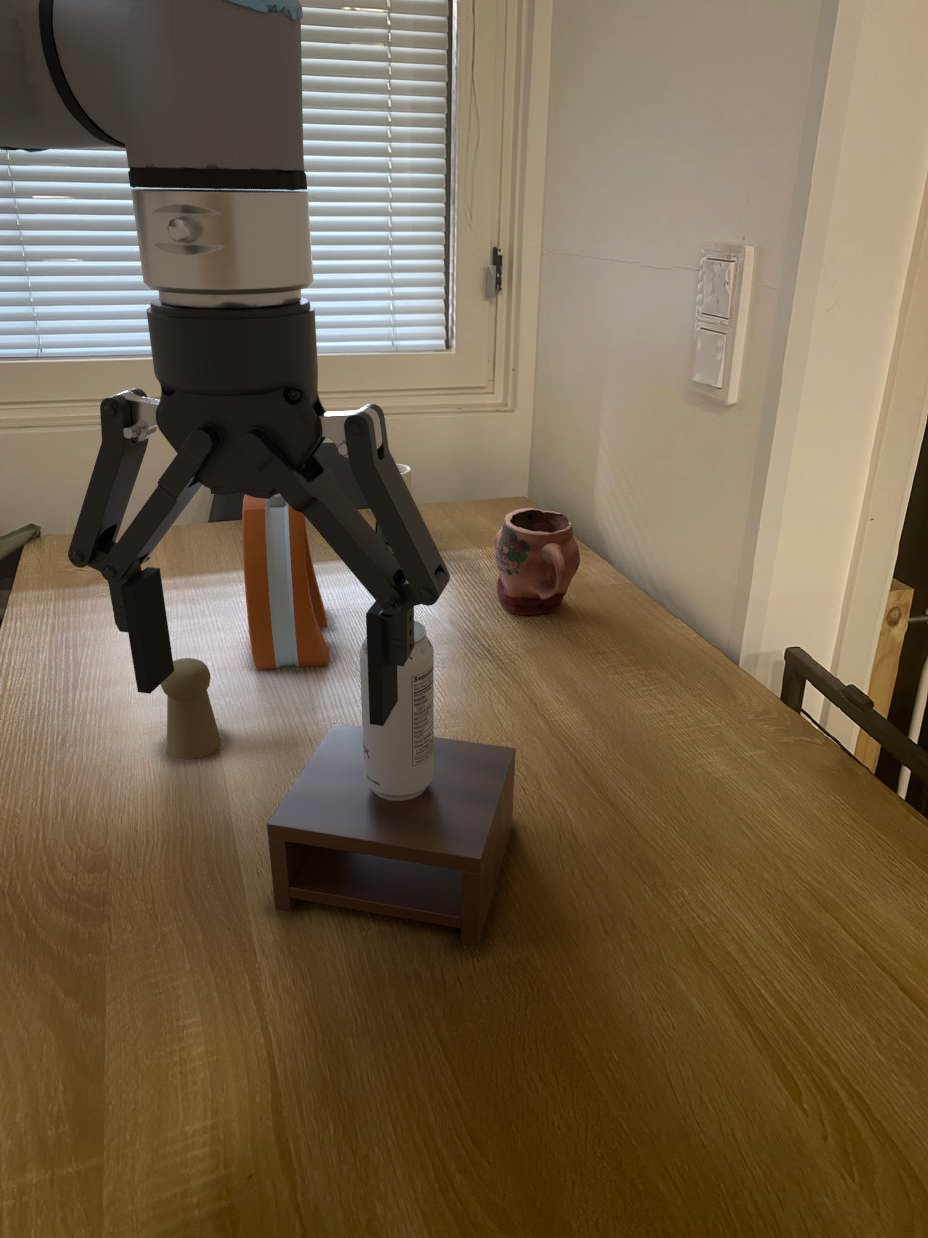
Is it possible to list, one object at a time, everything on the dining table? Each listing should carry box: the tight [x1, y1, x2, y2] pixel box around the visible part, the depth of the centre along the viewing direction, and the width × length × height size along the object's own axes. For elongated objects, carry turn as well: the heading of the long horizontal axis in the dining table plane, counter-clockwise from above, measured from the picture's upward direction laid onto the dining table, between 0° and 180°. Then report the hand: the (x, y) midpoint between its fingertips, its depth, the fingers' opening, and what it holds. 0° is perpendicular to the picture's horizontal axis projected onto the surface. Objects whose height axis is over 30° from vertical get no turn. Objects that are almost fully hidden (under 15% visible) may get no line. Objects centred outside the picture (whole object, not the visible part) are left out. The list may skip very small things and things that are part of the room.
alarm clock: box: [241, 494, 331, 671], centre depth 120 cm, size 22×10×23 cm, turn 9°
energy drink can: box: [359, 620, 435, 801], centre depth 77 cm, size 6×6×15 cm
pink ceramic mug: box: [493, 507, 581, 616], centre depth 134 cm, size 20×12×14 cm, turn 22°
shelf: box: [266, 722, 517, 947], centre depth 82 cm, size 16×18×10 cm
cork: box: [159, 657, 222, 760], centre depth 99 cm, size 6×6×11 cm
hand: (267, 697), depth 51 cm, fingers open, 13 cm apart
